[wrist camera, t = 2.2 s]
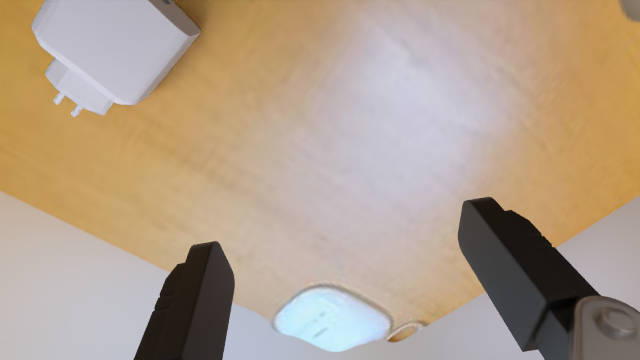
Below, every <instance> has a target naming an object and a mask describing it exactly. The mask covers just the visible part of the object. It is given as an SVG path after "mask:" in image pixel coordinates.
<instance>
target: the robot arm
mask: <svg viewBox="0 0 640 360" xmlns="http://www.w3.org/2000/svg"><path fill="white" fill-rule="evenodd" d="M458 241H459V246H460V249H461V251H462V253H463V255H464V256H465V258H466V260H467V261H468V263H469V265H470V266H471V268H472V269H473V271H474V273H475V274H476V276H477V278H478V279H479V281H480V283H481V284H482V286H483V287H484V289H485V291H486V292H487V294H488V296H489V297H490V299H491V301H492V302H493V304H494V305H495V307H496V309H497V310H498V312H499V314H500V315H501V317H502V319H503V320H504V322H505V324H506V325H507V327H508V329H509V330H510V332H511V333H512V335H513V337H514V338H515V340H516V342H517V343H518V345H519V347H520V348H521V350H522V351H523V352H524V351H531V350H537V349H538V350H539V351H540V353H541V354H542V356H543V357H544V359H545V360H640V312H639V311H637V310H636V309H634V308H633V307H631V306H629V305H627V304H625V303H623V302H621V301H619V300H616V299H613V298H609V297H605V296H601V295H600V294H599V293H598V292H597V291H595V289H594V288H593V287H592V286H591V285H590V284H589V283H588V282H587V281H586V280H585V279H584V278H583V277H582V276H581V275H580V274H579V273H578V272H577V270H576V269H574V267H573V266H572V265H571V264H570V263H569V262H568V261H567V260H566V259H565V258H564V257H563V256H562V255H561V254H560V253H559V252H558V251H557V249H556V248H555V247H552V244H551V243H550V242H549V241H548V240H547V239H546V238H545V237H544V236H542V235H541V233H540V232H539V231H538V230H537V228H536V227H535V226H534V225H533V224H532V223H531V222H530V221H529V220H527V219H526V218H524V217H522V216H521V215H519V214H517V213H515V212H514V211H512V210H508V211H504V210H503V209H502V208H501V206H500V205H499V204H498V203H497V202H496V201H495V200H494V199H493V198H491V197H485V198H479V199H473V200H467V201H464V203H463V206H462V212H461V218H460V225H459V231H458ZM234 287H235V281H234V274H233V271H232V269H231V267H230V264H229V262H228V260H227V258H226V256H225V254H224V252H223V250H222V248H221V246H220V244H219V243H218V242H217V241H214V242H208V243H202V244H196V245H193V246H192V247H191V248H190V250H189V253H188V256H187V259H186V262H185V263H181V264H177V266H176V267H175V268H174V269H173V271H172V272H171V273H170V274H169V276H168V277H167V278H166V280H165V283H164V285H163V287H162V290H161V292H160V298H158V300H157V303H156V305H155V311H153V312H152V315H151V318H150V320H149V322H148V325H147V328H146V330H145V333H144V335H143V337H142V340H141V343H140V345H139V347H138V350H137V353H136V355H135V358H134V360H222V358H223V352H224V346H225V341H226V335H227V329H228V323H229V317H230V312H231V306H232V300H233V294H234Z"/></svg>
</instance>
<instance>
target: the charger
mask: <svg viewBox="0 0 640 360" xmlns="http://www.w3.org/2000/svg"><path fill="white" fill-rule="evenodd" d="M31 28H32V30H33V32H34V34H35V36H36V38H37V41H38V43H39V44H40V46H41V47H42V48H44V49H45V50H46V51H47V52H49V53H50V54H51V55H53V56H54V59H53V60H52V62H51V63H50V65H49V67H48V68H47V70H46V71H45V75H46V77H47V78H48V79H49V81H50V82H51V83H52V85H53V86H54V87H55V88H56V89H57V90H58V91H60V92H59V93H58V95H57V96H56V98H55V99H54V100H53V101H54V103H55V104H60V103H61V101H62V100H63V98H64V97H65V96H67V97H68V98H70V99H71V100H72V101H74V102H75V103H77V106H76V107H75V108H74V110H73V111H72V113H71V114H72V116H74V117H77V115H78V114H79V113H80V111H81V110H82V109H83V108H85V109H88V110H90V111H92V112H95V113H97V114H100V115H105V113H106V112H107V111H108V109H109V108H110V107H111V105H112V104H113V103H114V102H115V103H117V104H122V105H136V104H138V103H139V102H141V101H142V100H144V99H145V98H147V97H148V96H149V95H150V94H151V93H152V92H153V91H154V89H155V88H156V87H157V86H158V84H159V83H160V82H161V81H162V80H163V78H164V77H165V76H166V75H167V74H168V72H169V71H170V70H171V69H172V67H173V66H174V65H175V64H176V63H177V61H178V60H179V59H180V58H181V56H182V55H183V54H184V53H185V52H186V50H187V49H188V48H189V47H190V46H191V44H192V43H193V42H194V41H195V39H196V38H197V37H198V36H199V35H200V33H201V30H200V29H199V28H198V26H197V25H196V24H195V23H194V22H193V21H192V20H191V19H190V18H189V17H188V16H187V15H186V14H185V13H184V12H183V11H182V10H181V9H180V8H179V7H178V6H177V5H176V4H175V3H174V2H173V1H172V0H45V1H44V3H43V5H42V6H41V8H40V10H39V12H38V13H37V15H36V17H35V19H34V20H33V22H32V24H31Z"/></svg>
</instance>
